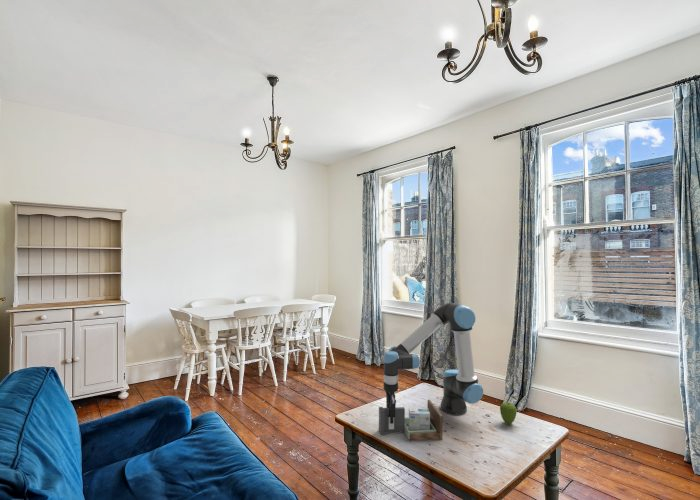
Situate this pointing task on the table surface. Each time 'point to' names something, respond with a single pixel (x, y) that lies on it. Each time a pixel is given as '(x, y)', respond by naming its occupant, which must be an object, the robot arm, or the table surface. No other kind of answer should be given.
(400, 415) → the pull cradle
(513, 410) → the green rounded lump
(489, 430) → the table surface
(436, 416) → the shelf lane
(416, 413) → the light bulb box
